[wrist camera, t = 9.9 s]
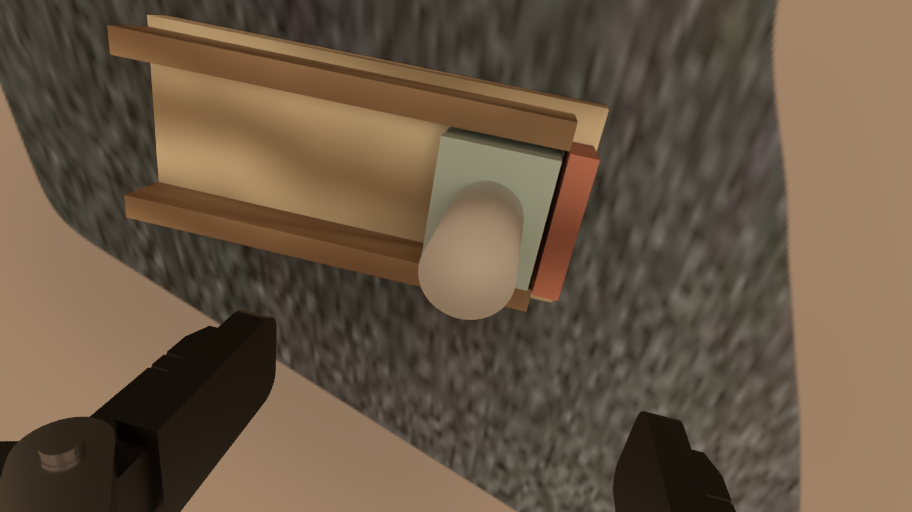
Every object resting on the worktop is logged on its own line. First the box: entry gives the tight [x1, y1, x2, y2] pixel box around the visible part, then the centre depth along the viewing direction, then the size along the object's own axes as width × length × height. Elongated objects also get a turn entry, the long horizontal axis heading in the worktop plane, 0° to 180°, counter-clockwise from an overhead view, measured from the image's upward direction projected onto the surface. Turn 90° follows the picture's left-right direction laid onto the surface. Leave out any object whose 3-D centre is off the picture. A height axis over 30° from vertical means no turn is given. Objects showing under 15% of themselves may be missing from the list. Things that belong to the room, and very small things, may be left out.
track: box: [107, 15, 609, 312], centre depth 25 cm, size 10×22×4 cm, turn 80°
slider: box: [418, 127, 562, 320], centre depth 21 cm, size 6×5×9 cm
